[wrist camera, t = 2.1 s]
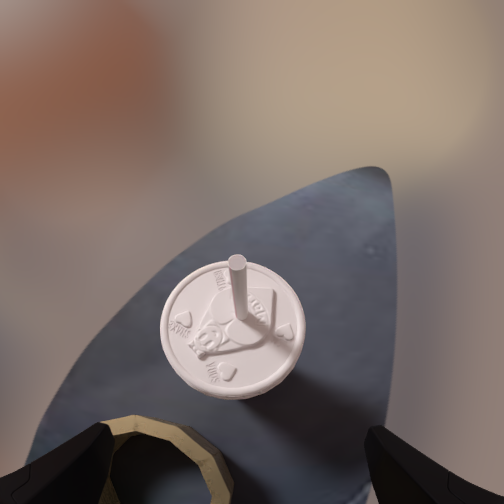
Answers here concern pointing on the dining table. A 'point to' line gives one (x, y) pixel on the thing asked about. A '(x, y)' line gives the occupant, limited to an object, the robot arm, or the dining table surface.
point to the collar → (185, 441)
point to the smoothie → (233, 329)
